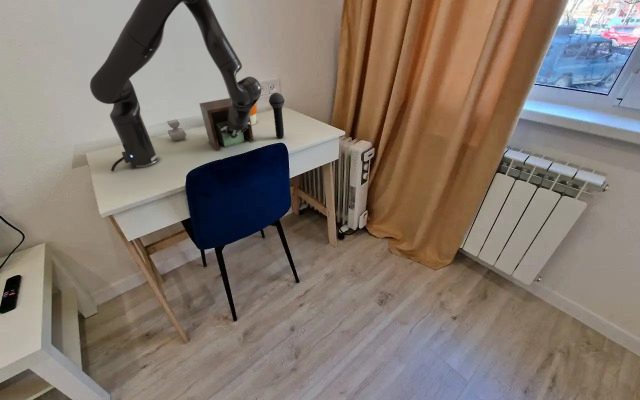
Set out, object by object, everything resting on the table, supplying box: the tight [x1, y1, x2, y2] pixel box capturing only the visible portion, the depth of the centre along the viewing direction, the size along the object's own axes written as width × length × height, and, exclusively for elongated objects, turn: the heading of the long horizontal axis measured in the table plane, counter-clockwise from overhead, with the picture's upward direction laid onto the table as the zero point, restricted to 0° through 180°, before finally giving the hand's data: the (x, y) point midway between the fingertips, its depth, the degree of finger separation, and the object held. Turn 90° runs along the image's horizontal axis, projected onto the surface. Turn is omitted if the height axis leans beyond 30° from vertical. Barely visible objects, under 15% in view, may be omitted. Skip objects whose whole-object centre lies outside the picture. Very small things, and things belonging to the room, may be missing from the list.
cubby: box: [199, 97, 255, 152], centre depth 121 cm, size 17×11×17 cm, turn 124°
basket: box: [215, 121, 245, 148], centre depth 124 cm, size 9×8×8 cm
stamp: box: [166, 119, 187, 142], centre depth 126 cm, size 9×7×8 cm
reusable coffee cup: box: [250, 102, 258, 126], centre depth 140 cm, size 13×13×15 cm
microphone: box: [268, 92, 285, 140], centre depth 123 cm, size 7×7×20 cm
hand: (233, 136), depth 121 cm, fingers closed
